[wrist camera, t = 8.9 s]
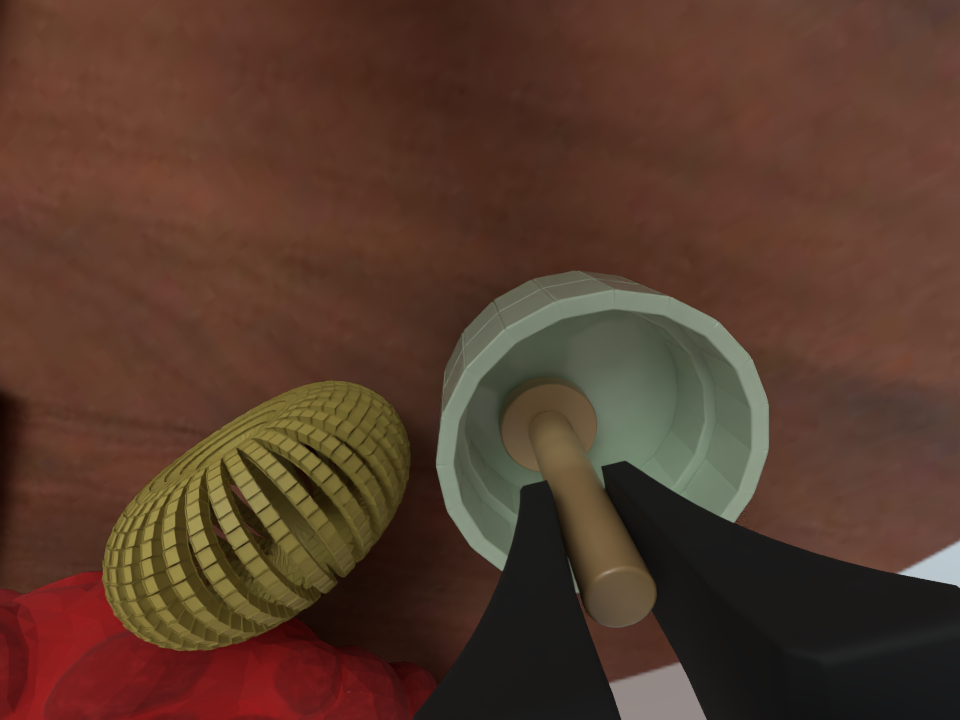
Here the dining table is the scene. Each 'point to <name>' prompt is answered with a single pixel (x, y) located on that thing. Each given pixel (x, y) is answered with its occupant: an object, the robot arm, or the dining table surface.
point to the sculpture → (258, 518)
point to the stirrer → (578, 497)
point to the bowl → (601, 398)
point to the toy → (182, 669)
